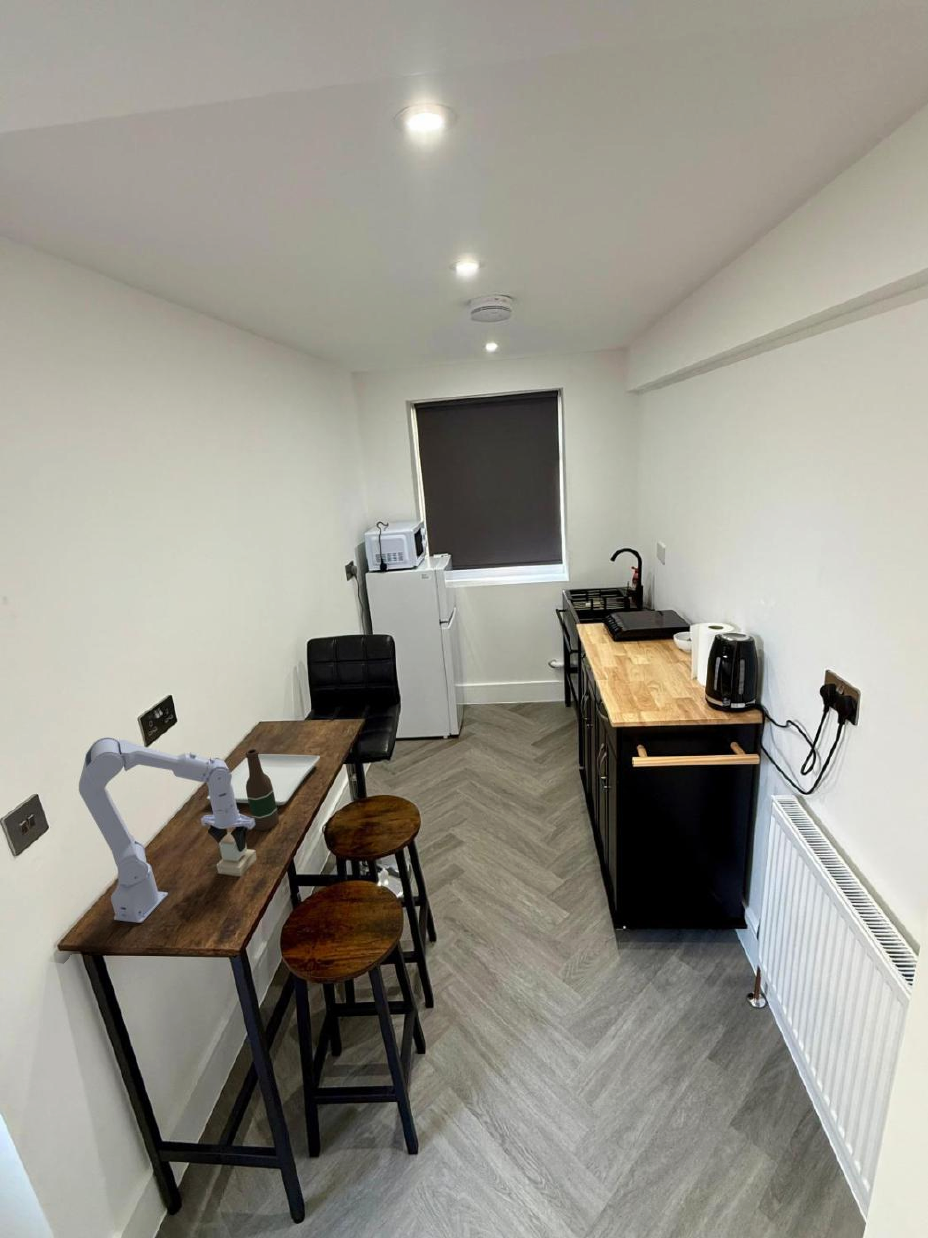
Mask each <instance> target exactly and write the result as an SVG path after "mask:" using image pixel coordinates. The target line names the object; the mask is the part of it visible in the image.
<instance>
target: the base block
mask: <svg viewBox="0 0 928 1238" xmlns="http://www.w3.org/2000/svg"><path fill="white" fill-rule="evenodd" d="M257 859H258V858H257V852H256V850H255V849H250V848H247V851H246V852H245V853H244V854H243V855H242V857H241V858H240V859H239V860H238V861H232V860H223V859H222V858H221V859H220V860H219V862H217V863H216V868H217V873H218V874H221V875H228V876H234V877H235V876H236V877H243V876H244V875H245V873H246V872H247V870H248V869H249V868H250V867H251V866H252V865H253V864H254V862H255V861H256V860H257Z"/></svg>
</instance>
